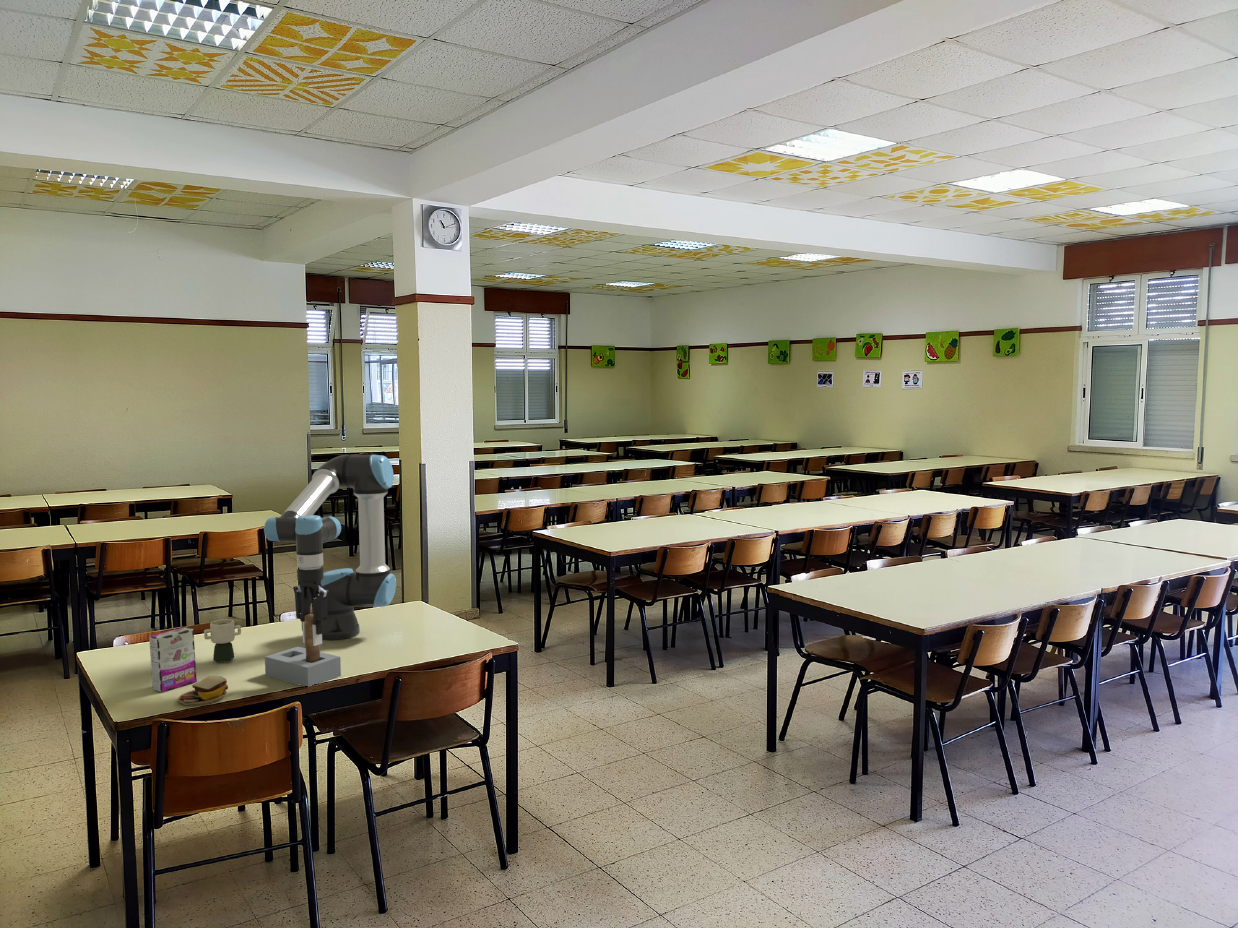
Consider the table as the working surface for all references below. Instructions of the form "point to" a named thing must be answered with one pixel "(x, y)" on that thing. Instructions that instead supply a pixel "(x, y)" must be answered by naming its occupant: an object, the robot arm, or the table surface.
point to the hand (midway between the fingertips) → (312, 643)
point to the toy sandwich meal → (205, 691)
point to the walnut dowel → (310, 641)
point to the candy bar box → (172, 659)
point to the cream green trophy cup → (222, 638)
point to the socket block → (302, 667)
